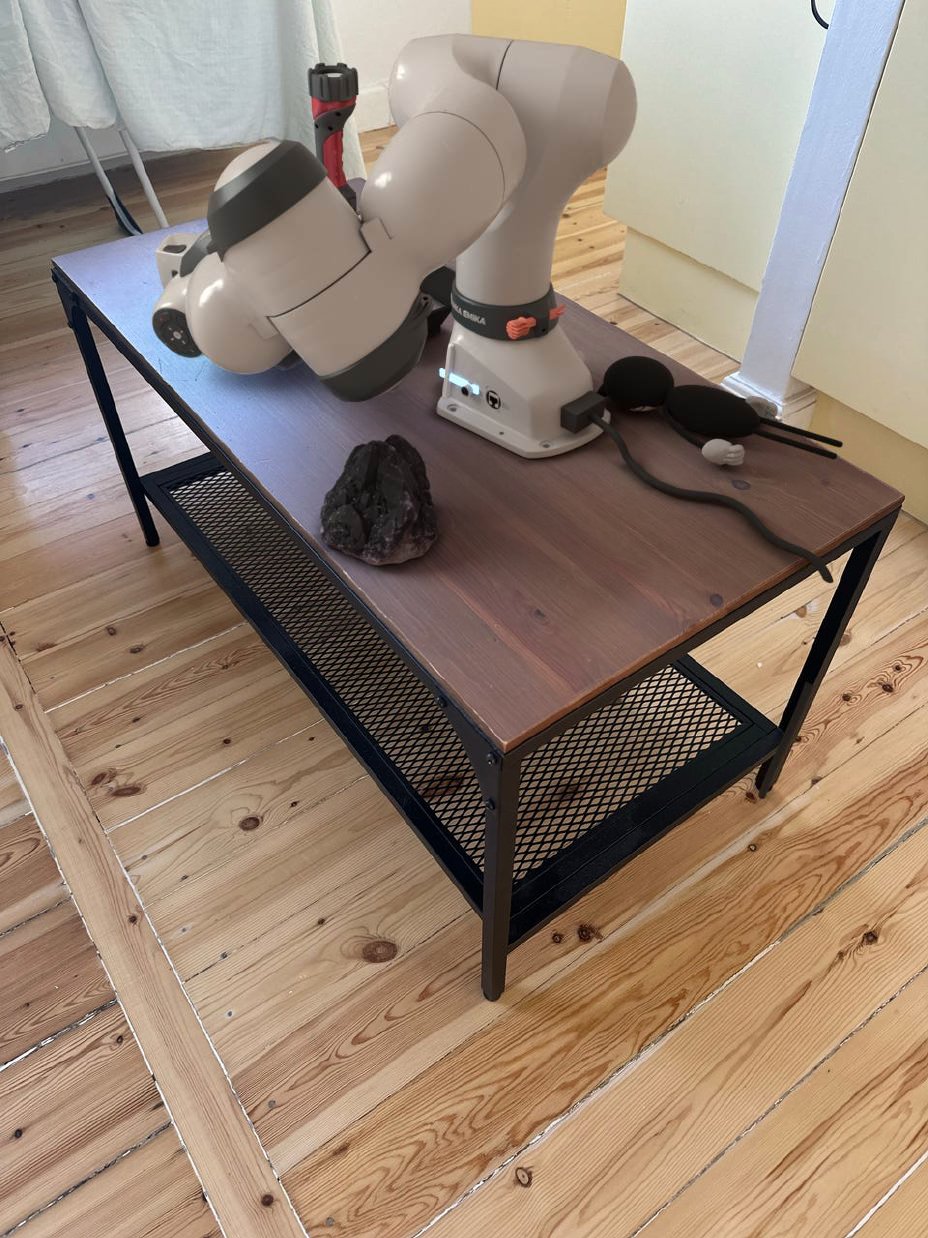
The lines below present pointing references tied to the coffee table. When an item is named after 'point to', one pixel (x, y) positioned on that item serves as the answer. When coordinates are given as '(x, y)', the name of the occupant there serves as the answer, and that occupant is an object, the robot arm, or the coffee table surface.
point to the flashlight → (333, 118)
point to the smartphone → (439, 284)
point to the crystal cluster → (381, 504)
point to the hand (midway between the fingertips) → (252, 234)
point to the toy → (700, 409)
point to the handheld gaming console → (437, 319)
